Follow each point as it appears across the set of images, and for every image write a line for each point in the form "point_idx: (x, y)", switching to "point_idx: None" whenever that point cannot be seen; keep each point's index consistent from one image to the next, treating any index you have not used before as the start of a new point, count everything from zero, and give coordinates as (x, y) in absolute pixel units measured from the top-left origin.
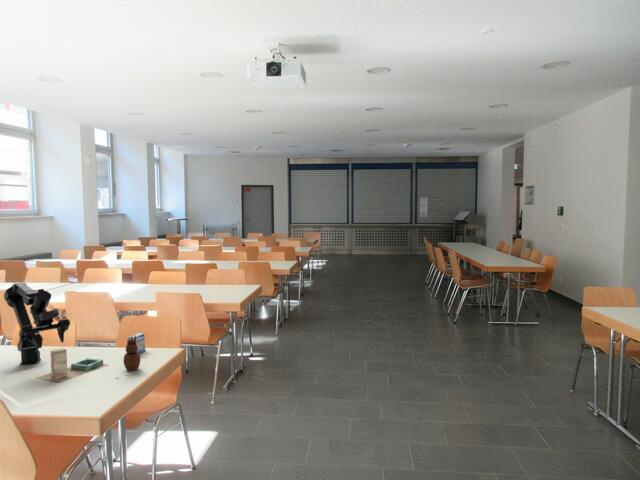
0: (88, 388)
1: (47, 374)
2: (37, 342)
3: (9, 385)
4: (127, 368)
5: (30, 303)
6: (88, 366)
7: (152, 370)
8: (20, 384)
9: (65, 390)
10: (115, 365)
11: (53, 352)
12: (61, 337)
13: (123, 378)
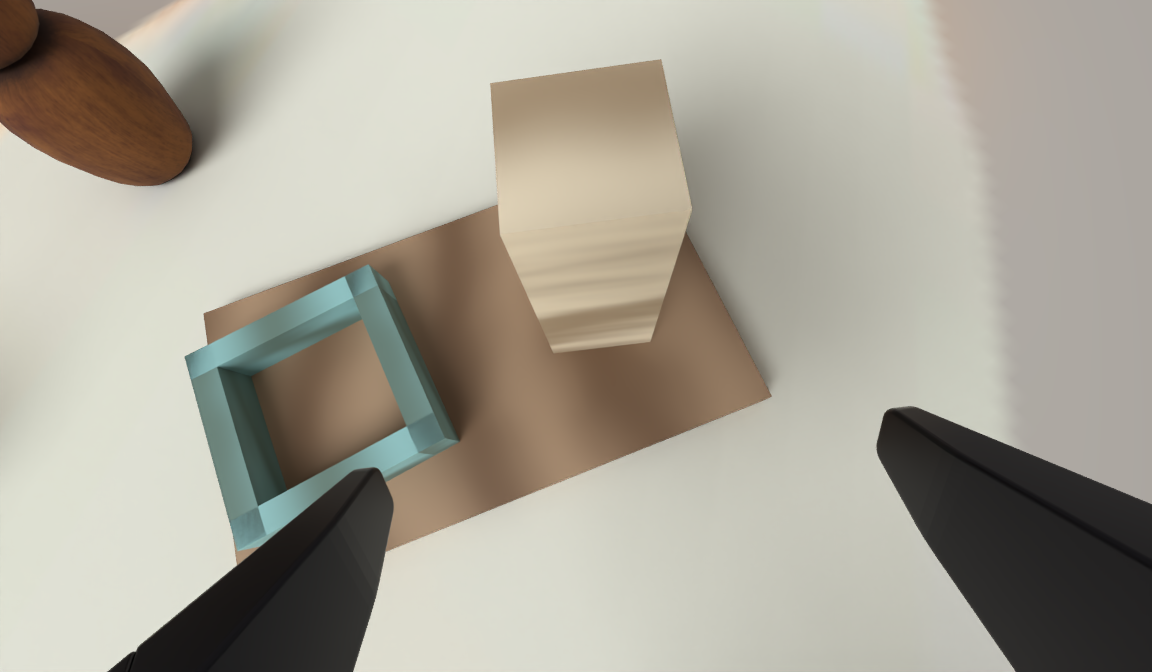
0: (515, 8)
1: (668, 427)
2: (1012, 460)
3: (975, 424)
4: (186, 129)
5: None
6: (359, 273)
7: None
8: (886, 382)
9: (628, 52)
10: (165, 333)
11: (667, 105)
12: (316, 558)
13: (301, 40)
